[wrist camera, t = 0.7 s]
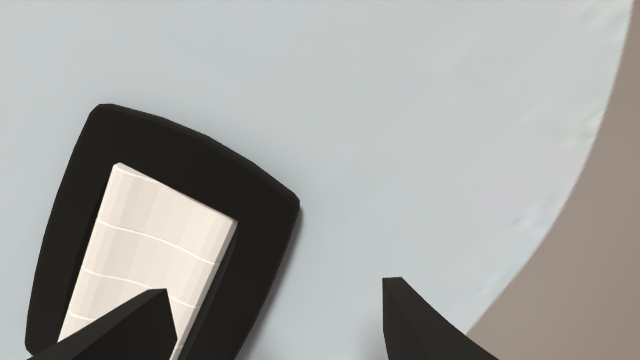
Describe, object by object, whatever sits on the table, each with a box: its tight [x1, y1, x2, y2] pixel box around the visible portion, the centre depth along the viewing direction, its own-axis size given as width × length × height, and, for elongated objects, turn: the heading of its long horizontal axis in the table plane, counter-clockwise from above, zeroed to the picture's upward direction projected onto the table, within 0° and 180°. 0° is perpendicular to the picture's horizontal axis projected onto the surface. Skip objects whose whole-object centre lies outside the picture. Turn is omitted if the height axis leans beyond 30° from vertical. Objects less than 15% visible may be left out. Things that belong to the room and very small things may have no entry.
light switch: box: [25, 104, 300, 360], centre depth 20 cm, size 20×3×14 cm
